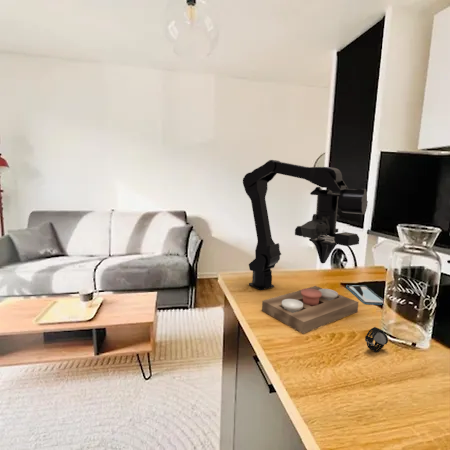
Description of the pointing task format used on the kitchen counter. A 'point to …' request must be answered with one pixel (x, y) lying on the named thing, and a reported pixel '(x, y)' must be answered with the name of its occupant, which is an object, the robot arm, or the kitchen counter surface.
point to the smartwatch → (376, 339)
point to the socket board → (310, 311)
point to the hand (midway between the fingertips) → (322, 263)
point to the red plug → (311, 296)
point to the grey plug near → (292, 305)
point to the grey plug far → (328, 294)
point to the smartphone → (365, 294)
